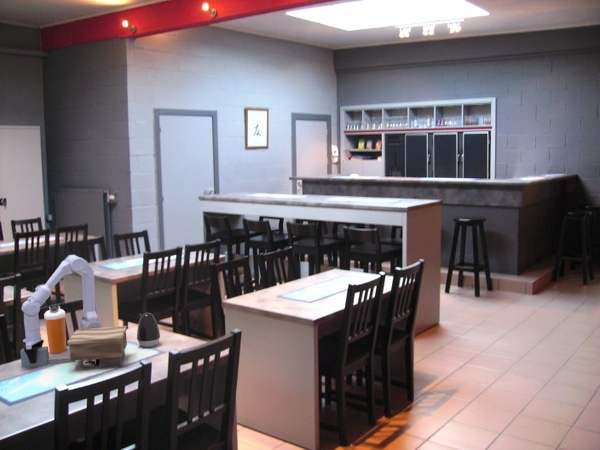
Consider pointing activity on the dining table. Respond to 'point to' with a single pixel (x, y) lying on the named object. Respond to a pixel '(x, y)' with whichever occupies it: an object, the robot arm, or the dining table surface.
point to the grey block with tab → (42, 358)
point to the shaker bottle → (56, 329)
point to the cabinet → (99, 345)
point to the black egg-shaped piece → (147, 330)
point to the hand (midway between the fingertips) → (35, 360)
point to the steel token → (89, 362)
